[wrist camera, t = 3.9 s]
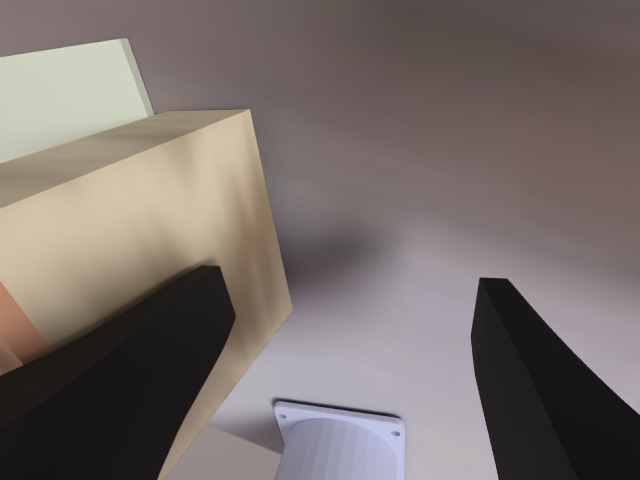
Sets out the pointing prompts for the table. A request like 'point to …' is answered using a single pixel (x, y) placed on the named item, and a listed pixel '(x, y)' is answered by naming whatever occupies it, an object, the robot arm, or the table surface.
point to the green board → (67, 95)
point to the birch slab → (140, 239)
